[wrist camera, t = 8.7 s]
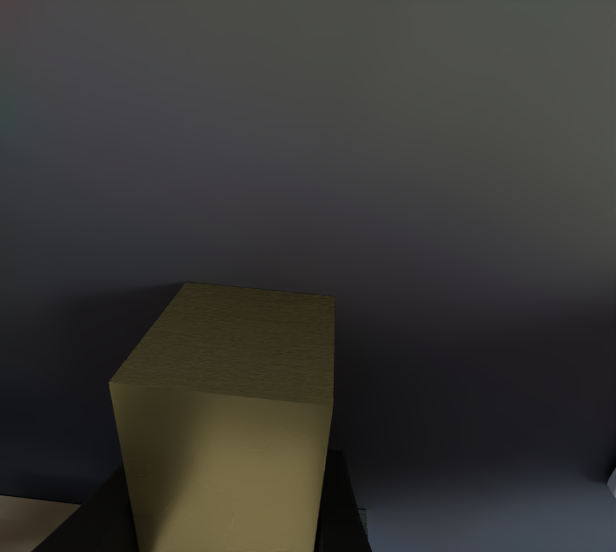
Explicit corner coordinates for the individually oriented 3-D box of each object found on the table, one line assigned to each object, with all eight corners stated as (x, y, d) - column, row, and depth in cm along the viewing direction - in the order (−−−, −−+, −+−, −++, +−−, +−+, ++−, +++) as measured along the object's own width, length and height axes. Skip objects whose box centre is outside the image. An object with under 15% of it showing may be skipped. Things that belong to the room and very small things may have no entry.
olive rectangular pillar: (186, 281, 10) (108, 382, 7) (335, 296, 10) (332, 406, 7) (200, 508, 14) (156, 645, 11) (308, 520, 14) (298, 663, 11)
